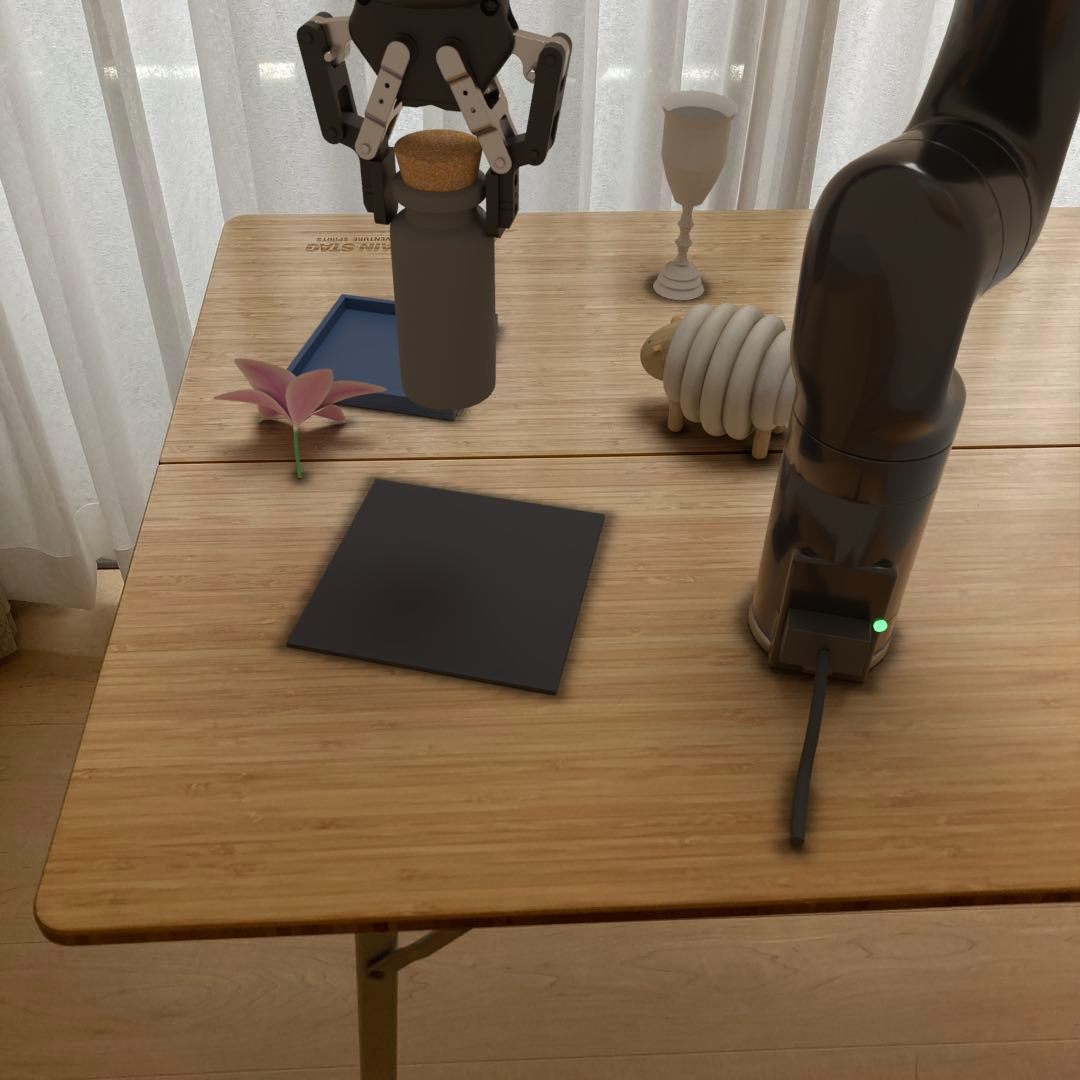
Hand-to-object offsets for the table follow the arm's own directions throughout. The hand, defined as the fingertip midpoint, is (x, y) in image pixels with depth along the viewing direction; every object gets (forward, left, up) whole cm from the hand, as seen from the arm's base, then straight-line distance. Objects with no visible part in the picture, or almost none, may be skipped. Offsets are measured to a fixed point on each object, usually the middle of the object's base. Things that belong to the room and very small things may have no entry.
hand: (442, 224), depth 62 cm
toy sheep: (+21, -17, -26) cm, 38 cm away
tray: (+25, +13, -26) cm, 38 cm away
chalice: (+45, -10, -26) cm, 53 cm away
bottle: (0, 0, -11) cm, 11 cm away
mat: (-1, 0, -26) cm, 26 cm away
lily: (+11, +16, -26) cm, 32 cm away
